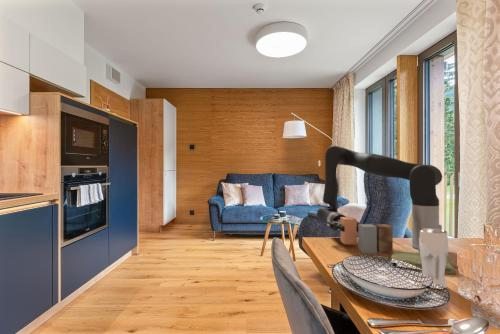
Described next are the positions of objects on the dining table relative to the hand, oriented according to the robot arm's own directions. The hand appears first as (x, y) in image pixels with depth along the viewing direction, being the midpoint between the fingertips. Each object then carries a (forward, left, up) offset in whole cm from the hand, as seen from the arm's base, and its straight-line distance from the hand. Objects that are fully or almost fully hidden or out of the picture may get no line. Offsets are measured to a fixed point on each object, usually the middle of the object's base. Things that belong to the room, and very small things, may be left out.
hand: (350, 229), depth 112 cm
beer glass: (-10, +35, -8) cm, 37 cm away
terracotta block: (0, -3, -6) cm, 7 cm away
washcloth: (-16, +19, -8) cm, 26 cm away
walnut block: (-11, +4, -8) cm, 14 cm away
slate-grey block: (-5, +4, -8) cm, 10 cm away
